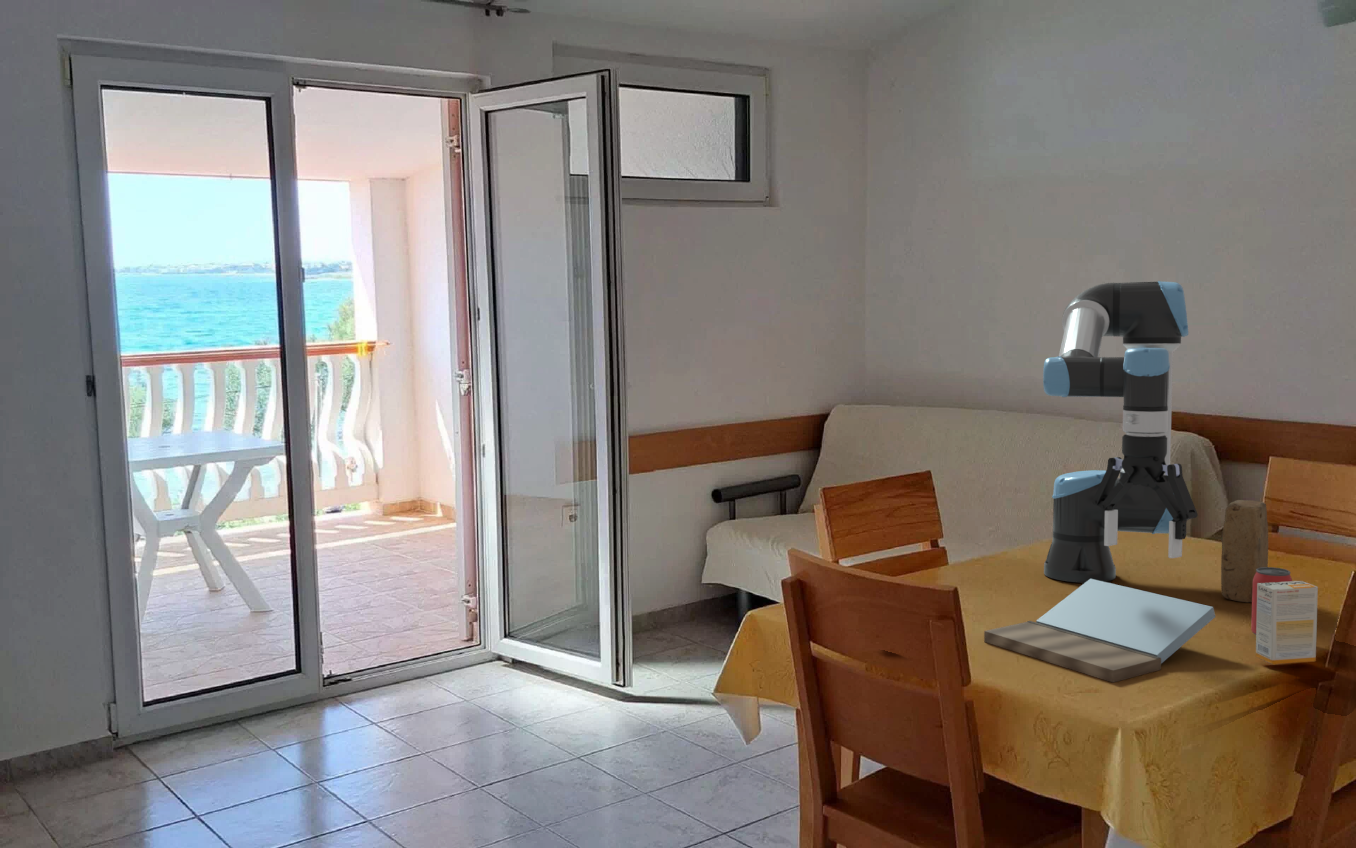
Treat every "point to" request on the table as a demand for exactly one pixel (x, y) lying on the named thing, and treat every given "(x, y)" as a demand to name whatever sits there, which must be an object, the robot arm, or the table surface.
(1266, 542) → the block
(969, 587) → the table surface
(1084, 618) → the plank
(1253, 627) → the beer can
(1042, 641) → the floor board
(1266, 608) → the supplement box
